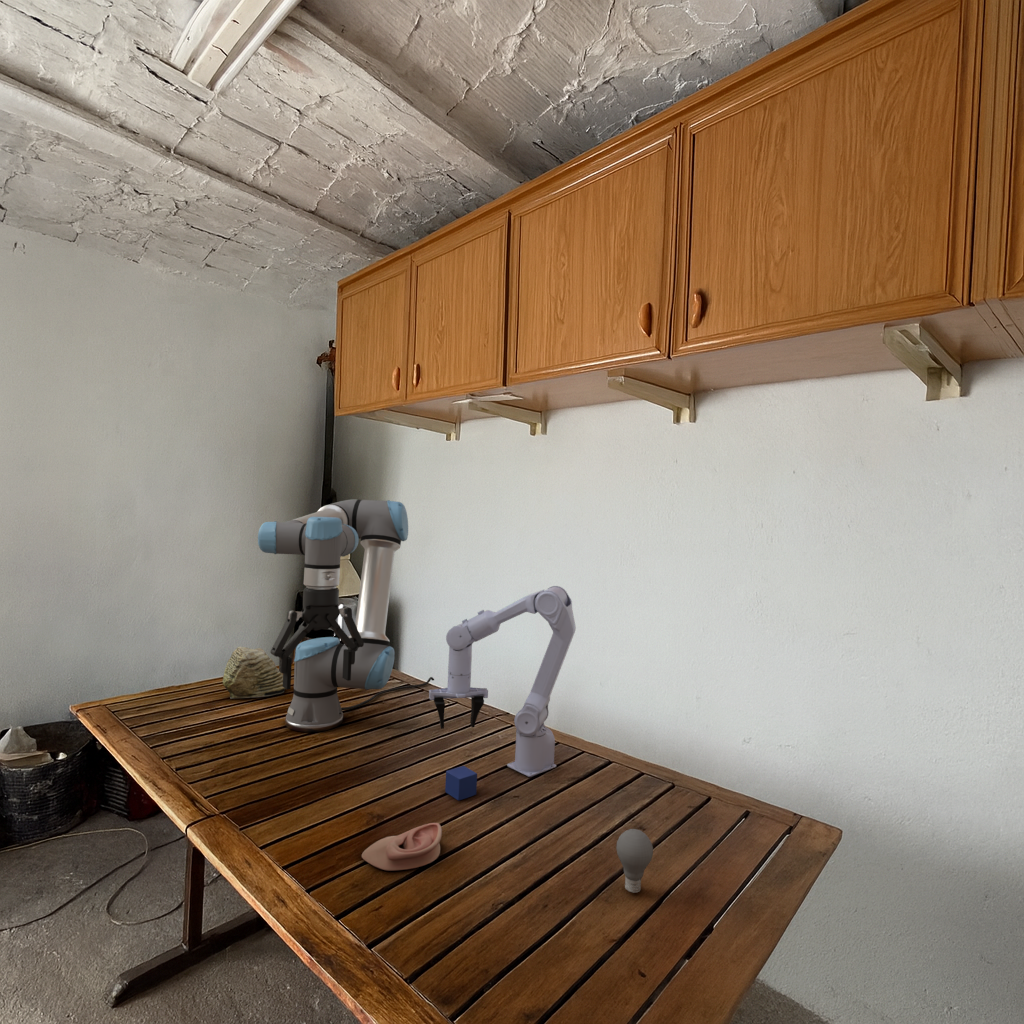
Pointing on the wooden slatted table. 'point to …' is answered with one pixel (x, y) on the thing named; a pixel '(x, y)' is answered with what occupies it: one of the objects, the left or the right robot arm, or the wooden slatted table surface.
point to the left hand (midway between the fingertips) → (317, 683)
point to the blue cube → (461, 783)
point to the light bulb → (634, 857)
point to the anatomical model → (406, 849)
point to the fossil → (252, 674)
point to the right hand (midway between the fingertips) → (457, 726)
